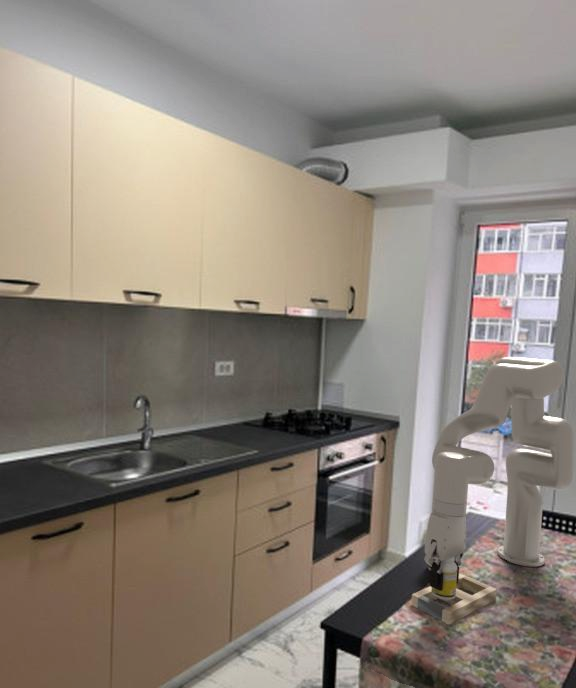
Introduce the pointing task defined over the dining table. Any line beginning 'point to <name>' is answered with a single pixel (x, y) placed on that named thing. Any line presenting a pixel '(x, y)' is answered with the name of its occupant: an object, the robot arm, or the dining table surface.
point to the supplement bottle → (447, 580)
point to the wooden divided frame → (455, 600)
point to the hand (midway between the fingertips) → (443, 583)
